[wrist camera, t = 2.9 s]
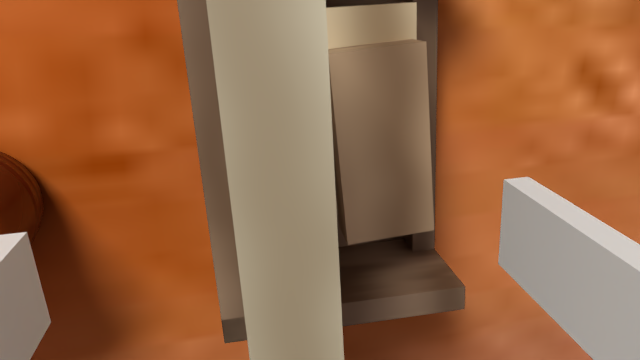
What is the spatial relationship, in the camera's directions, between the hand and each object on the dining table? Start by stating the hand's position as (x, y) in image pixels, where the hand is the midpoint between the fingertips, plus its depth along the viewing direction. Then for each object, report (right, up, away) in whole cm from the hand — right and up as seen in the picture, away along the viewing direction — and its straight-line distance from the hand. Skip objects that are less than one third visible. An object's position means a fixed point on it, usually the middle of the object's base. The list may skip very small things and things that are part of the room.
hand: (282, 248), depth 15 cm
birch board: (-3, +6, +18) cm, 19 cm away
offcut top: (+4, +4, +14) cm, 15 cm away
